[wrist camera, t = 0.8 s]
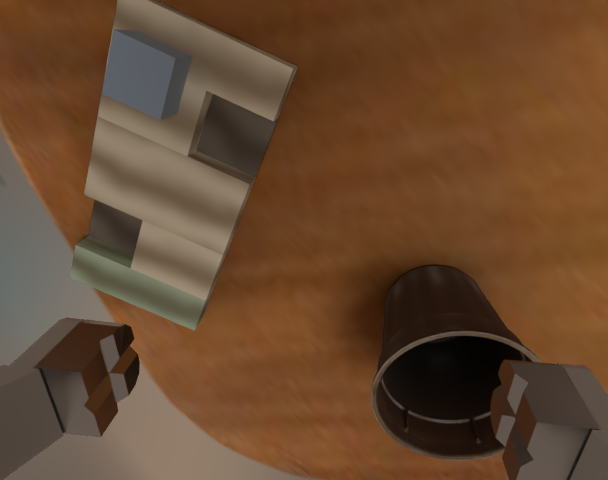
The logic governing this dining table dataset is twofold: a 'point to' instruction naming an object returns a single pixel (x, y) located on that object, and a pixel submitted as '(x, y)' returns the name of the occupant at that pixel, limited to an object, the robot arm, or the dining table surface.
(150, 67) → the slate block
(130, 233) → the wooden cutout board
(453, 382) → the plant pot
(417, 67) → the dining table surface
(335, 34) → the dining table surface
